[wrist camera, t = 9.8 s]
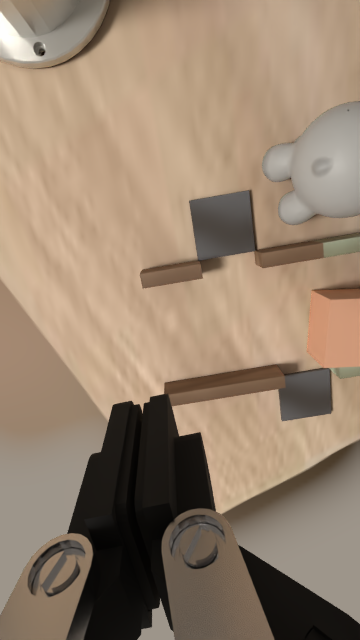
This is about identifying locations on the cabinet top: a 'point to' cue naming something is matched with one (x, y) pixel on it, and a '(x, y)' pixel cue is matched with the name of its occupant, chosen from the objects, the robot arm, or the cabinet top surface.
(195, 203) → the trap lane
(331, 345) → the salmon block
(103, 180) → the cabinet top surface
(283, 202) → the toy rhinoceros
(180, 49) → the cabinet top surface
